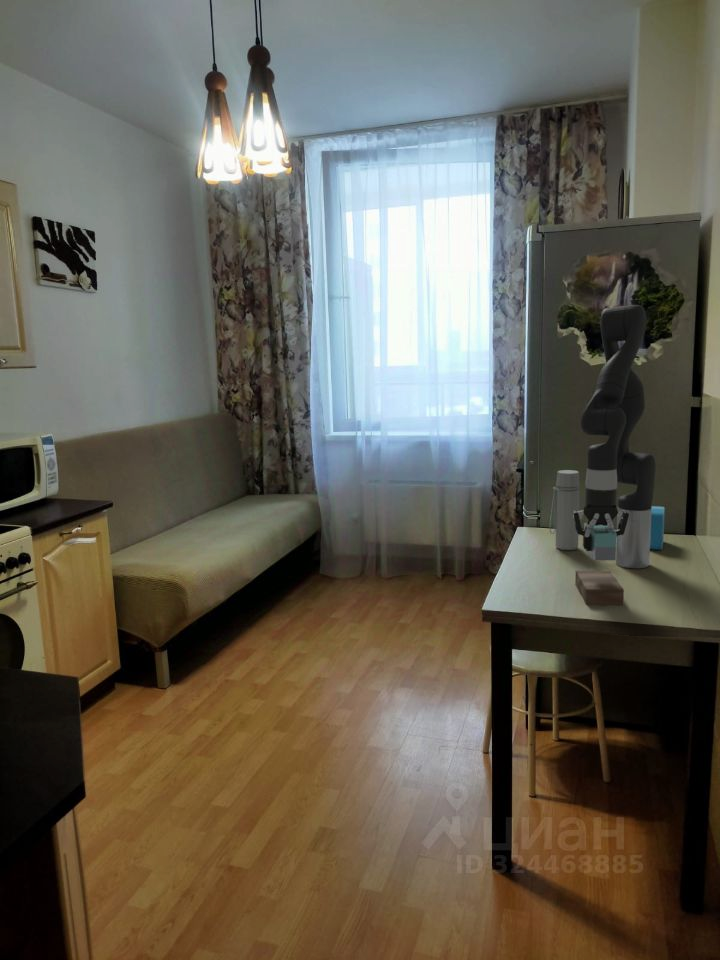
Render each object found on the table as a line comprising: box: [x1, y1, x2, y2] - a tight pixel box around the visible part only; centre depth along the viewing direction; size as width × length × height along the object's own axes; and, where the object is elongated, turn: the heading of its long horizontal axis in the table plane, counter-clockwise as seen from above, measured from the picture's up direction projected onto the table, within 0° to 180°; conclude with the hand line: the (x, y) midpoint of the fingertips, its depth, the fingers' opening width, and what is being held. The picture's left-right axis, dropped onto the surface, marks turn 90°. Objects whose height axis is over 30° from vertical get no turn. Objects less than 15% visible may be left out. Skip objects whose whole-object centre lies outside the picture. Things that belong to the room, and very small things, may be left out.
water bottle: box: [548, 469, 581, 551], centre depth 218 cm, size 9×8×25 cm
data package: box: [650, 505, 666, 551], centre depth 218 cm, size 12×4×12 cm, turn 155°
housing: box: [583, 522, 617, 561], centre depth 175 cm, size 5×11×7 cm, turn 177°
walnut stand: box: [574, 570, 625, 606], centre depth 178 cm, size 15×9×4 cm, turn 172°
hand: (599, 550), depth 176 cm, fingers closed on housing, 5 cm apart
